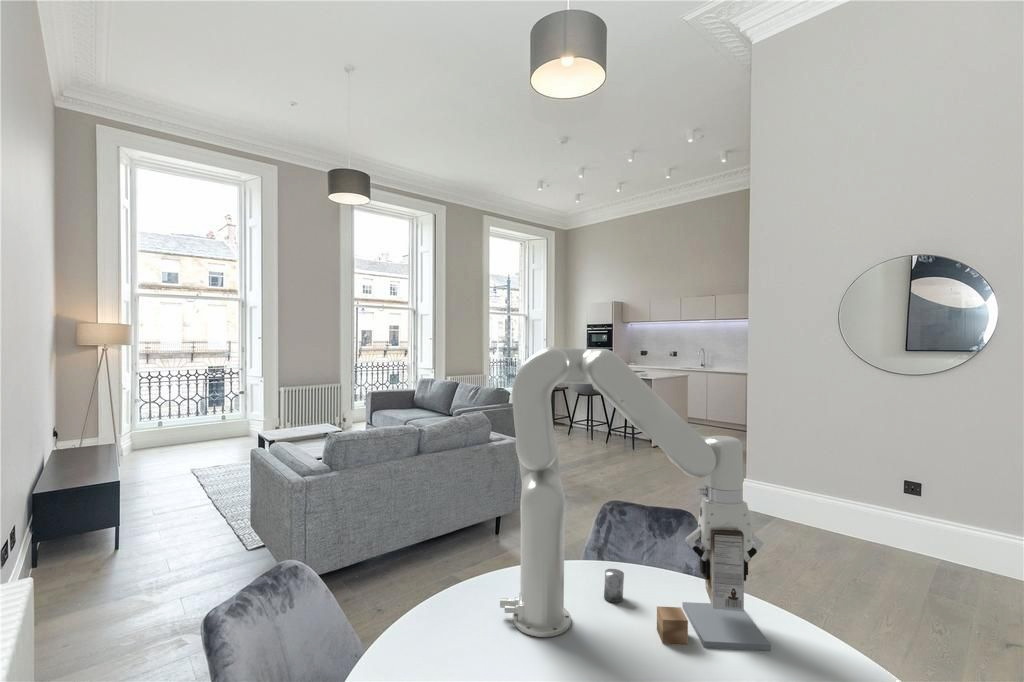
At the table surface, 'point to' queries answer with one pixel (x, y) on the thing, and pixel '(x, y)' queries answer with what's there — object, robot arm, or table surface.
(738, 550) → the coffee box
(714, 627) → the slate board
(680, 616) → the walnut block
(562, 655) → the table surface
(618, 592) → the metal canister
